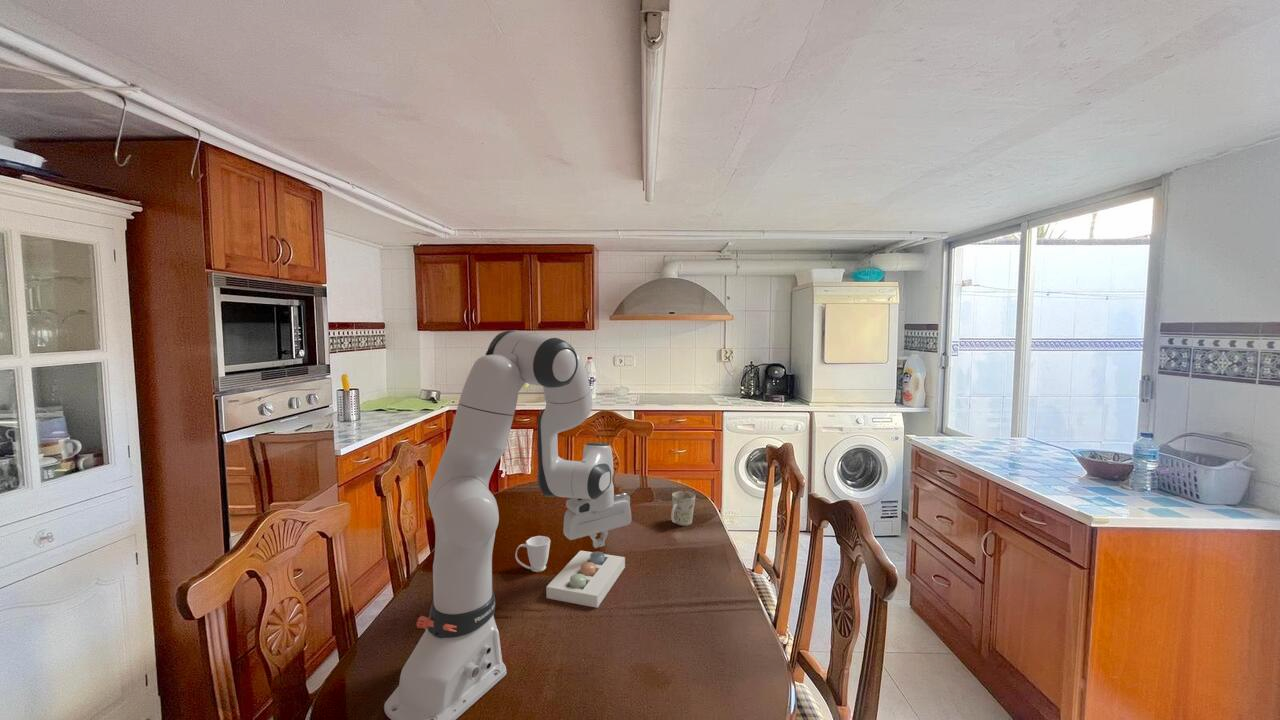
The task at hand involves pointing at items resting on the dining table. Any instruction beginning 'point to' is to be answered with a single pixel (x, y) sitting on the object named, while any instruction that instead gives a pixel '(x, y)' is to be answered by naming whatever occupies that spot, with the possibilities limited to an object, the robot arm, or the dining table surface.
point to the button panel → (594, 585)
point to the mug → (682, 507)
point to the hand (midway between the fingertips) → (598, 546)
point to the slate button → (597, 558)
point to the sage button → (578, 581)
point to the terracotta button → (588, 569)
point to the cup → (536, 552)
